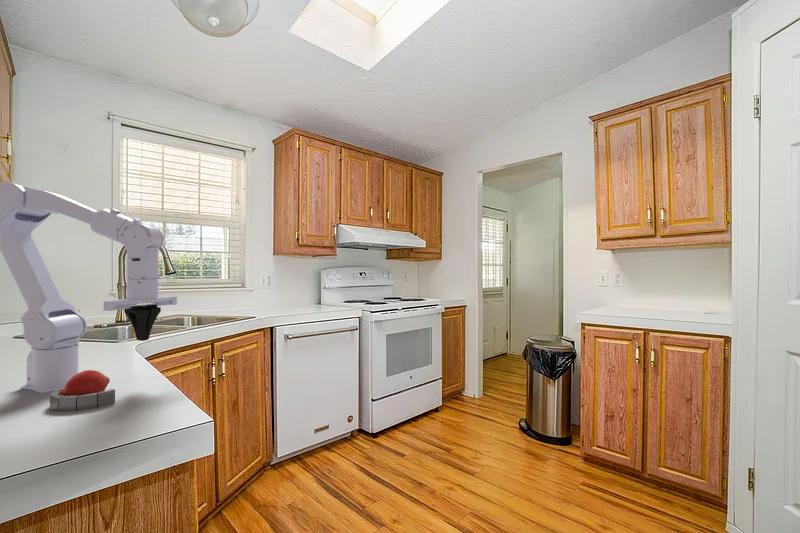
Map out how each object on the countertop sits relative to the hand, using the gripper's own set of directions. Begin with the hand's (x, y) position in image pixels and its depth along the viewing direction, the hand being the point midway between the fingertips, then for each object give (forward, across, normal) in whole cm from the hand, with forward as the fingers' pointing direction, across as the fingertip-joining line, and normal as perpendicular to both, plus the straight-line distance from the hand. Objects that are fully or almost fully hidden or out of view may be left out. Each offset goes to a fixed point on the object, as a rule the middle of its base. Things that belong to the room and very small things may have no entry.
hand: (142, 340), depth 84 cm
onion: (+6, -8, -3) cm, 10 cm away
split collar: (+9, -12, -3) cm, 15 cm away
